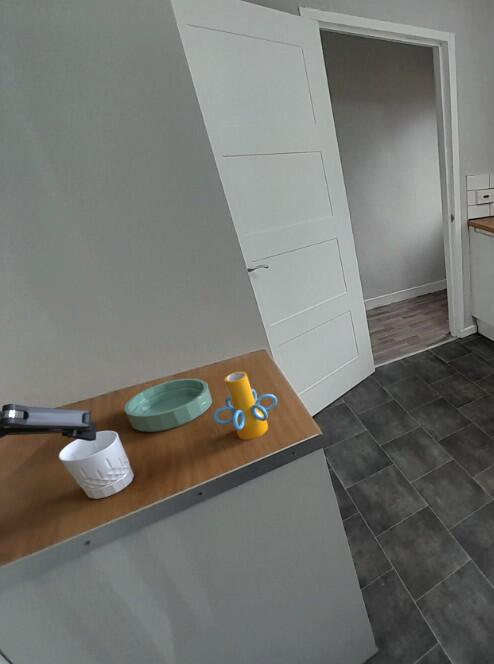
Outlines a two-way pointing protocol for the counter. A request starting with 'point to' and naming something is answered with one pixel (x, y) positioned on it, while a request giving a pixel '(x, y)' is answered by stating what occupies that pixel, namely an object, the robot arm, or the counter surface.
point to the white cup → (98, 464)
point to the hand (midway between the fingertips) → (35, 443)
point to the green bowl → (168, 405)
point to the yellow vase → (245, 407)
